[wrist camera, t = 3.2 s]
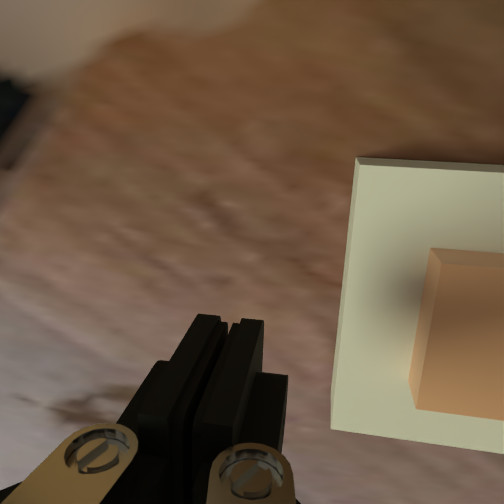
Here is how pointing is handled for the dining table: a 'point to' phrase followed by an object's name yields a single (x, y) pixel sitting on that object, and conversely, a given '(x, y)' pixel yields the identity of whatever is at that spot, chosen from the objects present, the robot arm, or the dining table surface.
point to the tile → (460, 335)
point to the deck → (406, 291)
